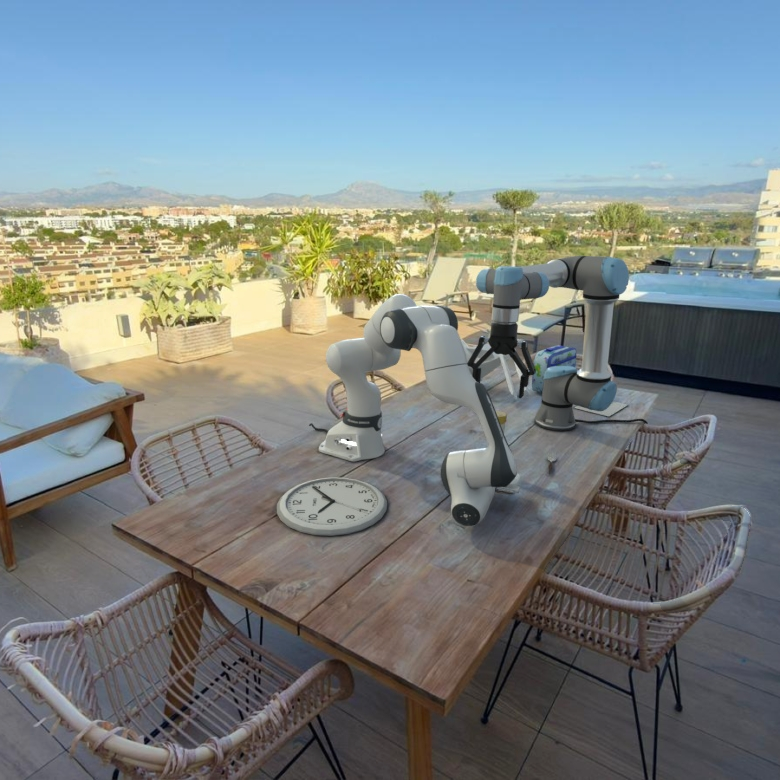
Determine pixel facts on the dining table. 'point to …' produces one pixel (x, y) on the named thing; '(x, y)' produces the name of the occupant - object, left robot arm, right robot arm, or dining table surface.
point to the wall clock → (331, 506)
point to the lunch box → (551, 362)
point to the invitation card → (609, 411)
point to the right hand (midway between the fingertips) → (498, 393)
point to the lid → (501, 417)
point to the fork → (551, 460)
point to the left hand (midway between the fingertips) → (488, 466)
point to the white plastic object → (493, 365)
